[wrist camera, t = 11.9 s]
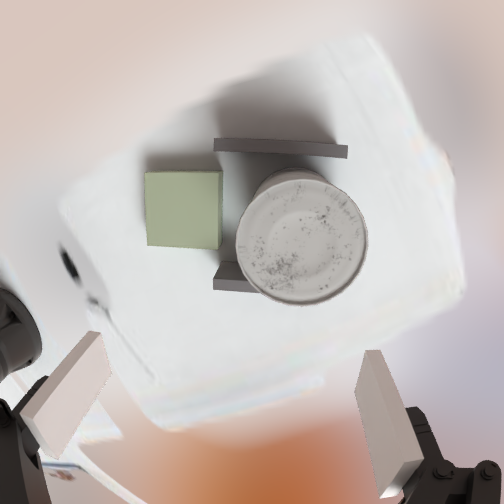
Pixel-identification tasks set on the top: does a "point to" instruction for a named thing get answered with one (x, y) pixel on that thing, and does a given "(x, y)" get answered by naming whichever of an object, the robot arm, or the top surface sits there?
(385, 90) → the top surface
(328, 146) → the parallel grey rails
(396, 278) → the top surface
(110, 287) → the top surface
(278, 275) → the grey cylindrical piece
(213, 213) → the block
